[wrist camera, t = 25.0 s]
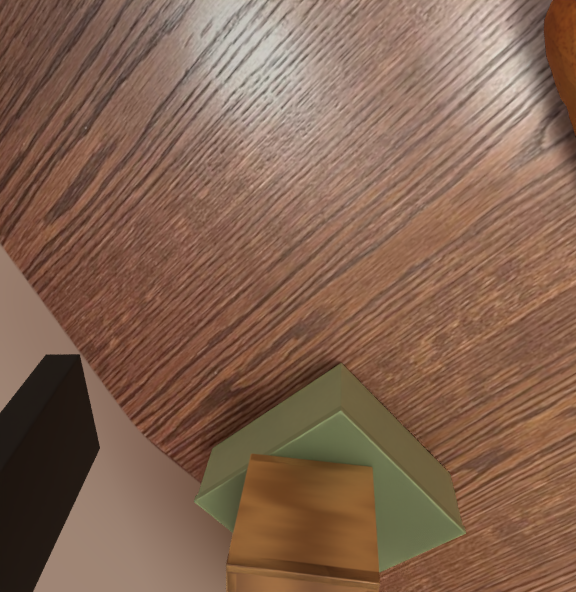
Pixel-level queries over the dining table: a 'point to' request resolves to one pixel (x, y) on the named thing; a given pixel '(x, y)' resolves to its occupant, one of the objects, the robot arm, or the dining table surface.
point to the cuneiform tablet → (562, 51)
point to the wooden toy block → (304, 528)
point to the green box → (347, 450)
